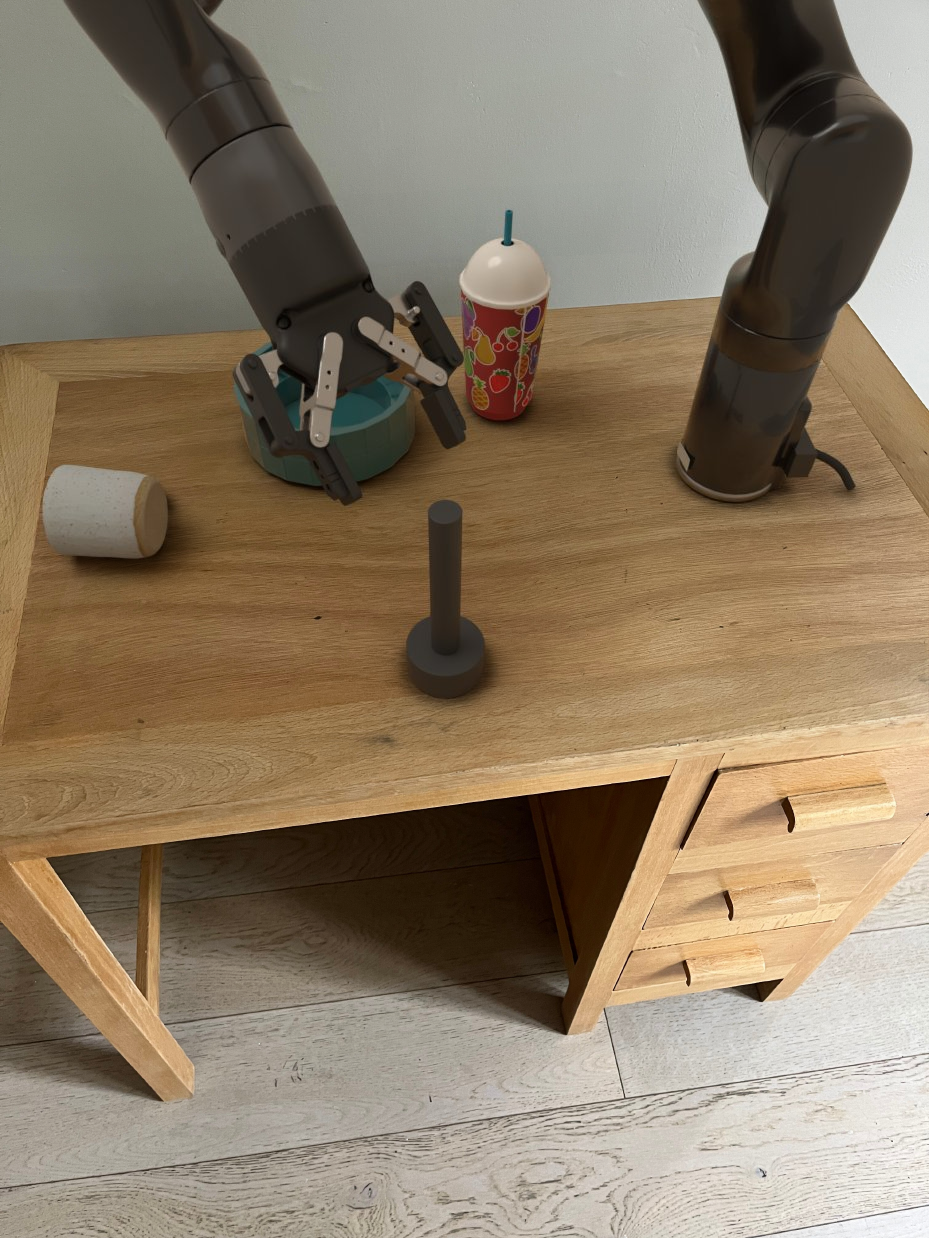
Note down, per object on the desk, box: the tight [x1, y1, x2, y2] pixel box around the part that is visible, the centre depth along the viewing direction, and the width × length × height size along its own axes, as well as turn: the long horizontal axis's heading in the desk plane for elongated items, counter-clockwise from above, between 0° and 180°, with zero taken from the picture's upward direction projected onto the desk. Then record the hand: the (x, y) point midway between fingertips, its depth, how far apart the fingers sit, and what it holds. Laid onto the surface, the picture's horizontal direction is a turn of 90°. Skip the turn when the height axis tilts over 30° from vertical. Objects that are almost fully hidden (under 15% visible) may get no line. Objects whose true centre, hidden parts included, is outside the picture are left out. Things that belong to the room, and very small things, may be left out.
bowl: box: [233, 340, 416, 487], centre depth 83 cm, size 17×17×6 cm
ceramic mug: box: [42, 464, 169, 559], centre depth 73 cm, size 11×8×8 cm
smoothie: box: [458, 209, 552, 421], centre depth 81 cm, size 8×8×20 cm
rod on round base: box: [405, 499, 486, 699], centre depth 61 cm, size 6×6×17 cm
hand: (406, 472), depth 56 cm, fingers open, 8 cm apart
